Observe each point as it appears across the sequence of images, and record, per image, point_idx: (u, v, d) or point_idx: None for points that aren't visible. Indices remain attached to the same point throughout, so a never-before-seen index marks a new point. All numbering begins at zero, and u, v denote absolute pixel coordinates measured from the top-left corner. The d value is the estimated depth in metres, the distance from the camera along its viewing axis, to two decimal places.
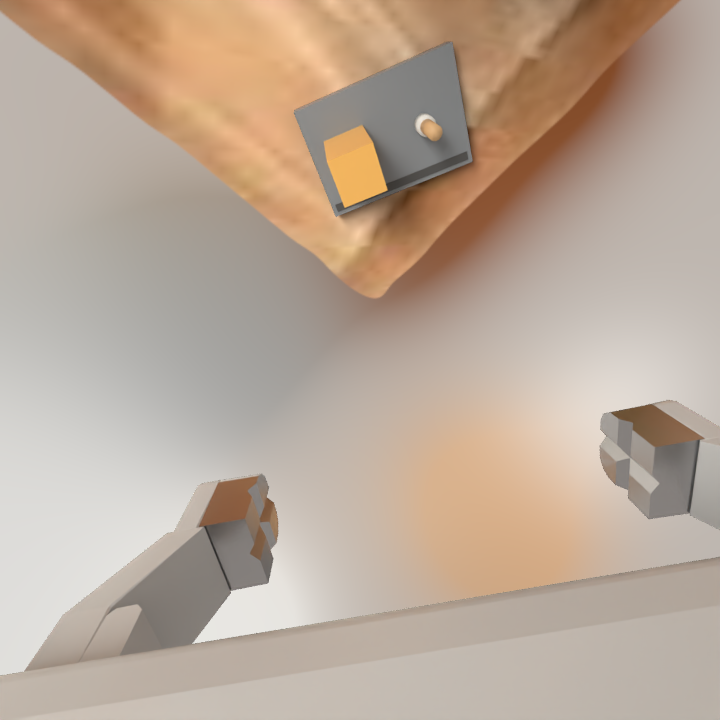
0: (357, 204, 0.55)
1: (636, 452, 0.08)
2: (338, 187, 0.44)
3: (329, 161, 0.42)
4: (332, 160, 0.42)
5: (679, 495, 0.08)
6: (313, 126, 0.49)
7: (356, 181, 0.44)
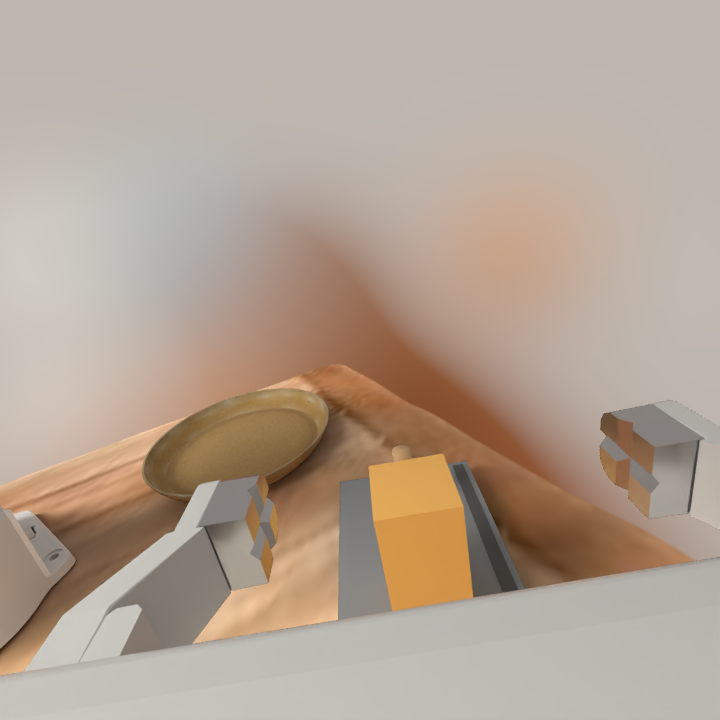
0: None
1: (636, 452, 0.08)
2: (422, 510, 0.23)
3: (374, 518, 0.23)
4: (374, 513, 0.23)
5: (679, 494, 0.08)
6: None
7: (419, 486, 0.25)
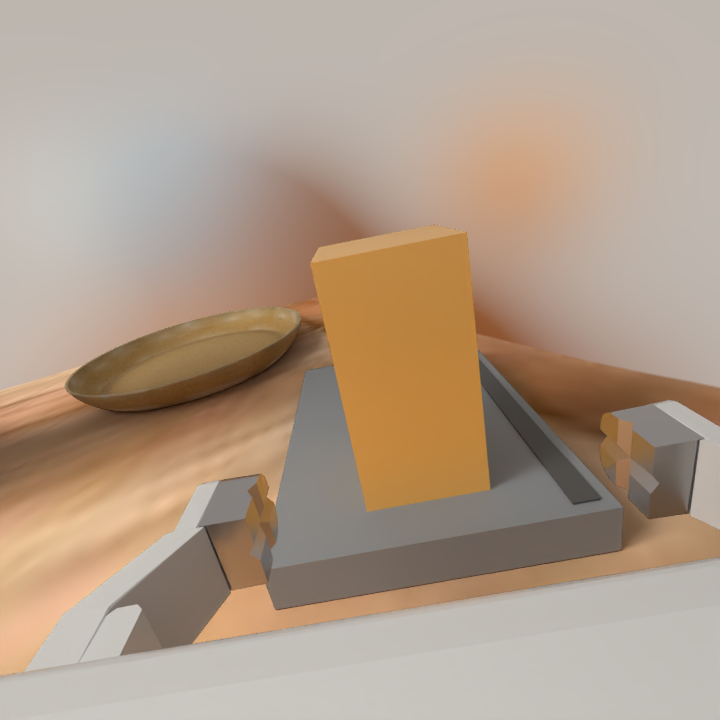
0: (563, 454, 0.17)
1: (636, 452, 0.08)
2: (395, 245, 0.13)
3: None
4: (314, 260, 0.14)
5: (678, 495, 0.08)
6: (319, 527, 0.16)
7: (393, 239, 0.15)
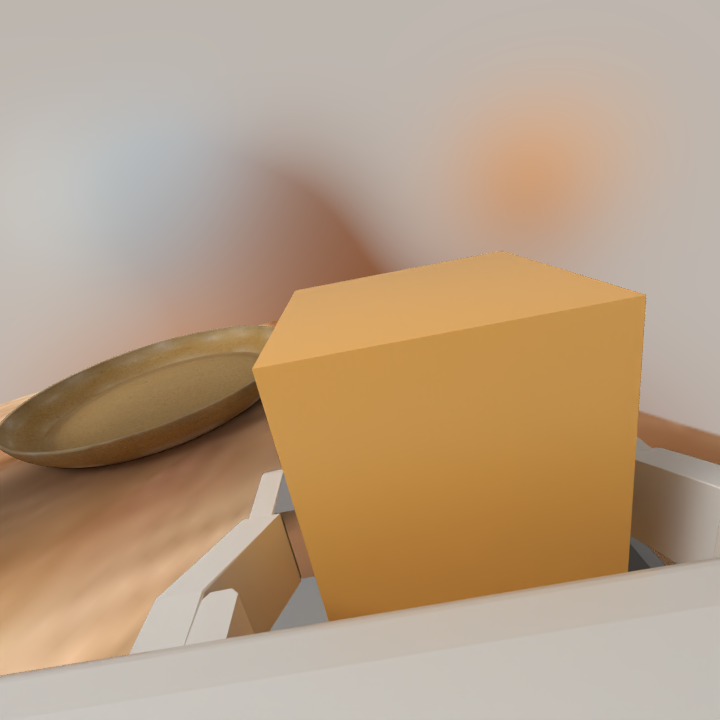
0: None
1: None
2: (463, 325, 0.05)
3: (262, 363, 0.06)
4: (266, 353, 0.06)
5: None
6: None
7: (441, 291, 0.07)
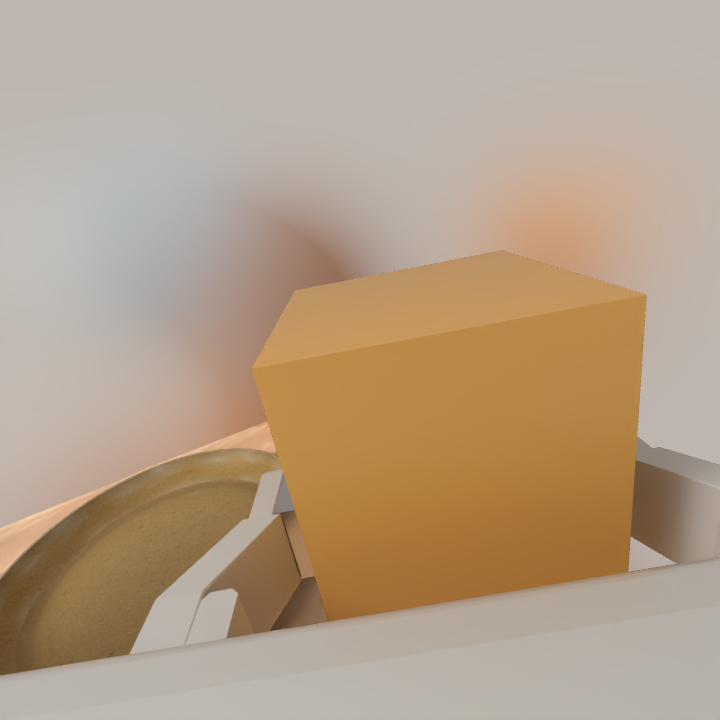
0: None
1: None
2: (463, 324, 0.05)
3: (261, 363, 0.06)
4: (266, 352, 0.06)
5: None
6: None
7: (442, 291, 0.07)
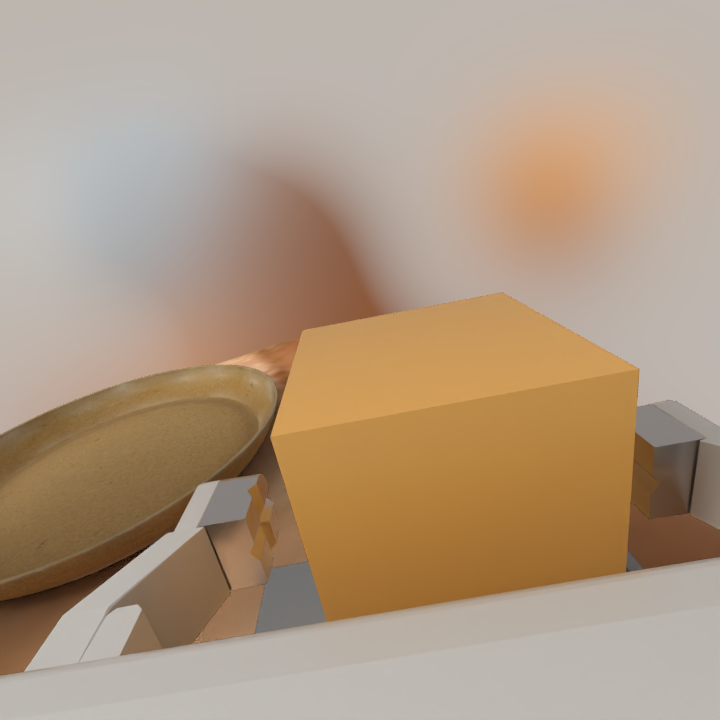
0: None
1: (636, 452, 0.08)
2: (468, 394, 0.06)
3: (278, 428, 0.06)
4: (282, 415, 0.06)
5: (678, 494, 0.08)
6: None
7: (446, 345, 0.08)
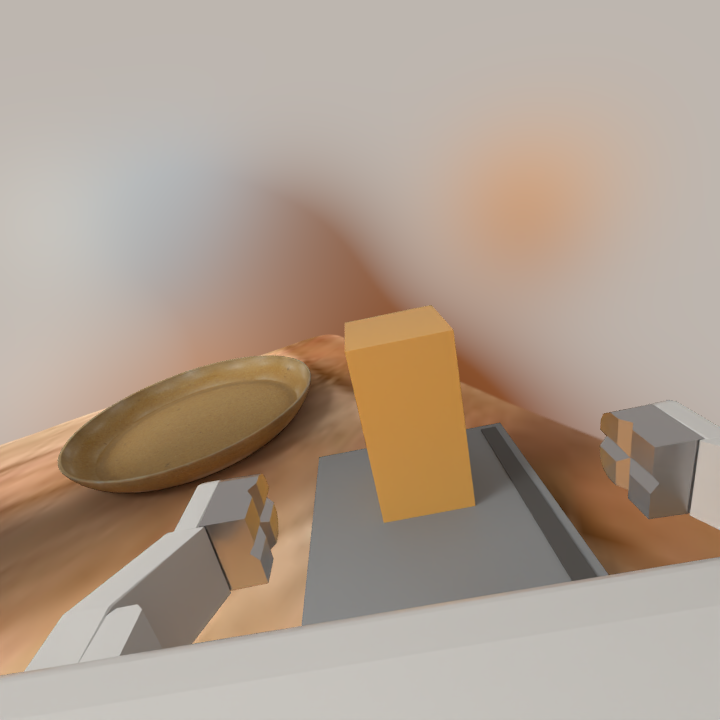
0: None
1: (636, 452, 0.08)
2: (404, 338, 0.19)
3: (346, 350, 0.19)
4: (346, 347, 0.19)
5: (679, 494, 0.08)
6: None
7: (401, 326, 0.21)
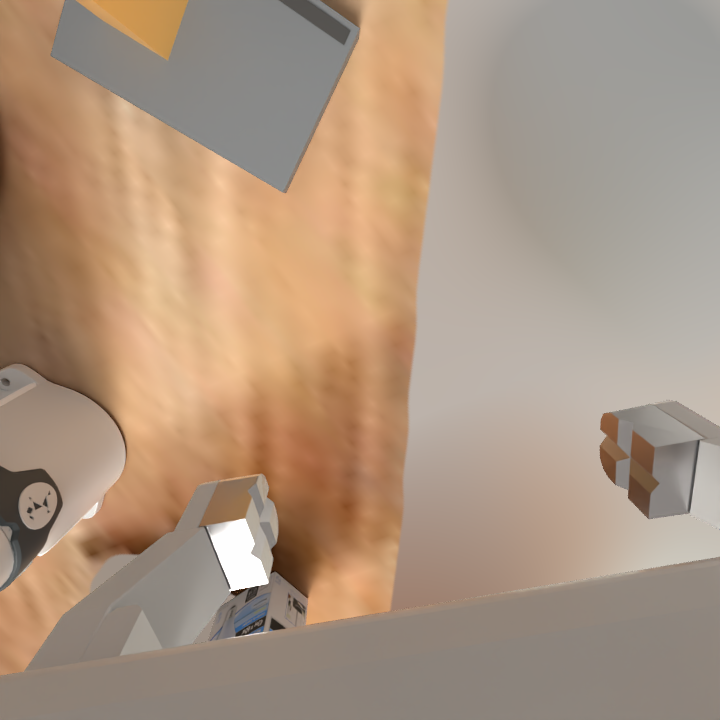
0: (317, 7, 0.30)
1: (636, 452, 0.08)
2: None
3: None
4: None
5: (678, 495, 0.08)
6: (276, 157, 0.34)
7: None
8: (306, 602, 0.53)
